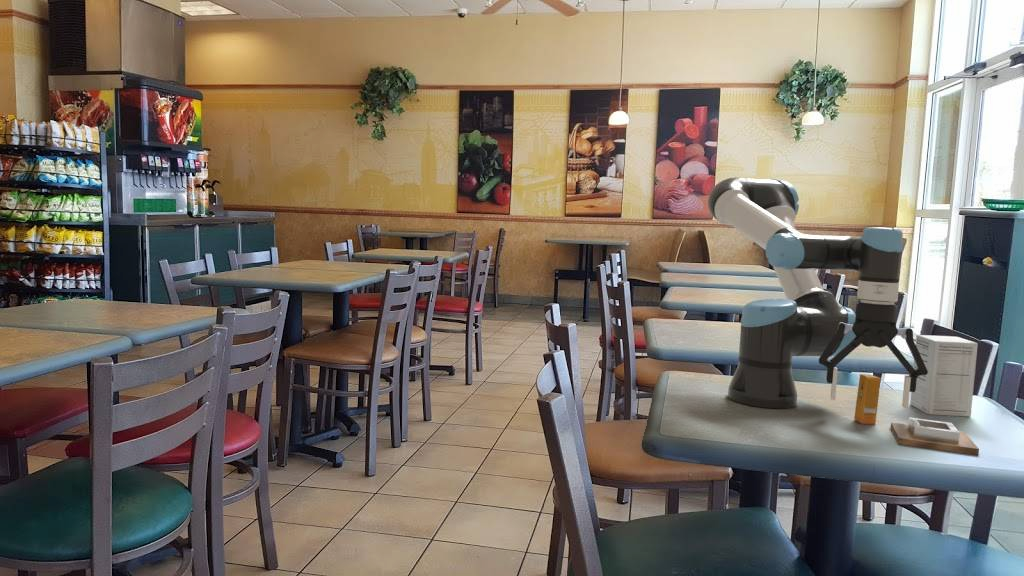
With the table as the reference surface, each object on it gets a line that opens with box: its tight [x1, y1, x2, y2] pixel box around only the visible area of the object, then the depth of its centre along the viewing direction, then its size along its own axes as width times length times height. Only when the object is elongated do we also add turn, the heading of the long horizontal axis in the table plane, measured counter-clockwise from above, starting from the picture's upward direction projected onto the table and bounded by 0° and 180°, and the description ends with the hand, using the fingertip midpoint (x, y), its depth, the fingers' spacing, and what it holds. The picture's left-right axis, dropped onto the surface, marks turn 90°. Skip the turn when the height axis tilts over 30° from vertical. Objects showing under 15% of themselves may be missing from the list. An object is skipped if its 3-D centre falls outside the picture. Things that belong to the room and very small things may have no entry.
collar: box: [908, 417, 960, 443], centre depth 137 cm, size 7×7×2 cm
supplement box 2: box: [909, 334, 979, 417], centre depth 161 cm, size 10×9×17 cm
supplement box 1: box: [853, 373, 882, 425], centre depth 148 cm, size 3×3×10 cm
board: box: [890, 421, 980, 456], centre depth 137 cm, size 13×12×1 cm
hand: (868, 402), depth 148 cm, fingers open, 13 cm apart
